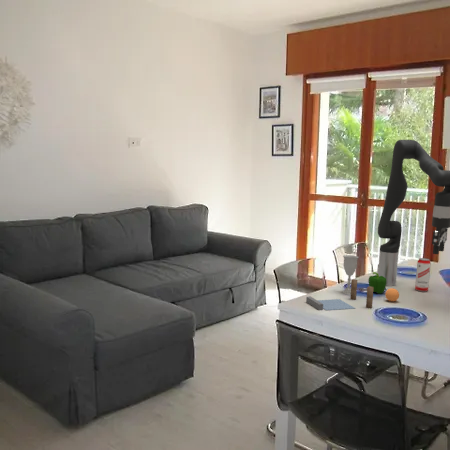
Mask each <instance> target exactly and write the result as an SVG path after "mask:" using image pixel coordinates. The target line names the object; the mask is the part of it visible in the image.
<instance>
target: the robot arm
mask: <svg viewBox="0 0 450 450" xmlns="http://www.w3.org/2000/svg"><path fill="white" fill-rule="evenodd" d="M404 160H415V161H417V162H418V164H419V168H420V169H421V171H422V172H423V173H425V175H427V177H429V179H430V181H431V182H432V184H433V185H435V186H436V187H443V190H442V191H439V192H437V193H435V198H434V205H433V210H432V211H433V212H432V219H431V227H434V228H436V229H435V230H433V232H432V233H433V234H432V240H431V241H432V242H431V244H432V245H433V248H432V254H433V255H439V253H440V252H444V251H445V243H446V242H447V240H448V237H447V236H448V229H449V228H450V170H449V169H448V170H445V169H444V166H443V165H442V164H441V163H440V162H438V161H437V160H436V159H434V158H433V157H432V156H431V155H430V154H429V153H428V152H427V151H426V150H425V148H424V147H423V146H422V145H421V144H420V143H419V142H418V141H417V140H414V139H398V140H397V141H396V142H395V143H394V146H393V150H392V159H391V168H390V174H389V179H388V183H387V188H386V196H385V199H384V204H383V208H382V212H381V215H380V218H379V221H378V226H377V235H378V237H379V238H381V239H389V240H388V241H387V242H385V243H383V244H381V245H380V246H379V253H378V254H379V258H378V264H377V270H376V273H378V275H379V276H383V277H384V278H386V280H387V282H386V286H388V287H389V286H391V287H393V286H396V285H397V277H398V276H397V273H398V261H399V251H400V250H399V249H400V247H401V239H402V231H403V229H402V224H401V222H400V221H399V220H391V218H392V216H393V215H394V214H395V213H394V212H395V211H396V210H397V209H398V208H399V207H400V206H401V204H403V202H404V201H405V199H406V195H407V191H408V190H407V189H408V182H407V179H406V176H405V175H404V170H403V165H404Z"/></svg>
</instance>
